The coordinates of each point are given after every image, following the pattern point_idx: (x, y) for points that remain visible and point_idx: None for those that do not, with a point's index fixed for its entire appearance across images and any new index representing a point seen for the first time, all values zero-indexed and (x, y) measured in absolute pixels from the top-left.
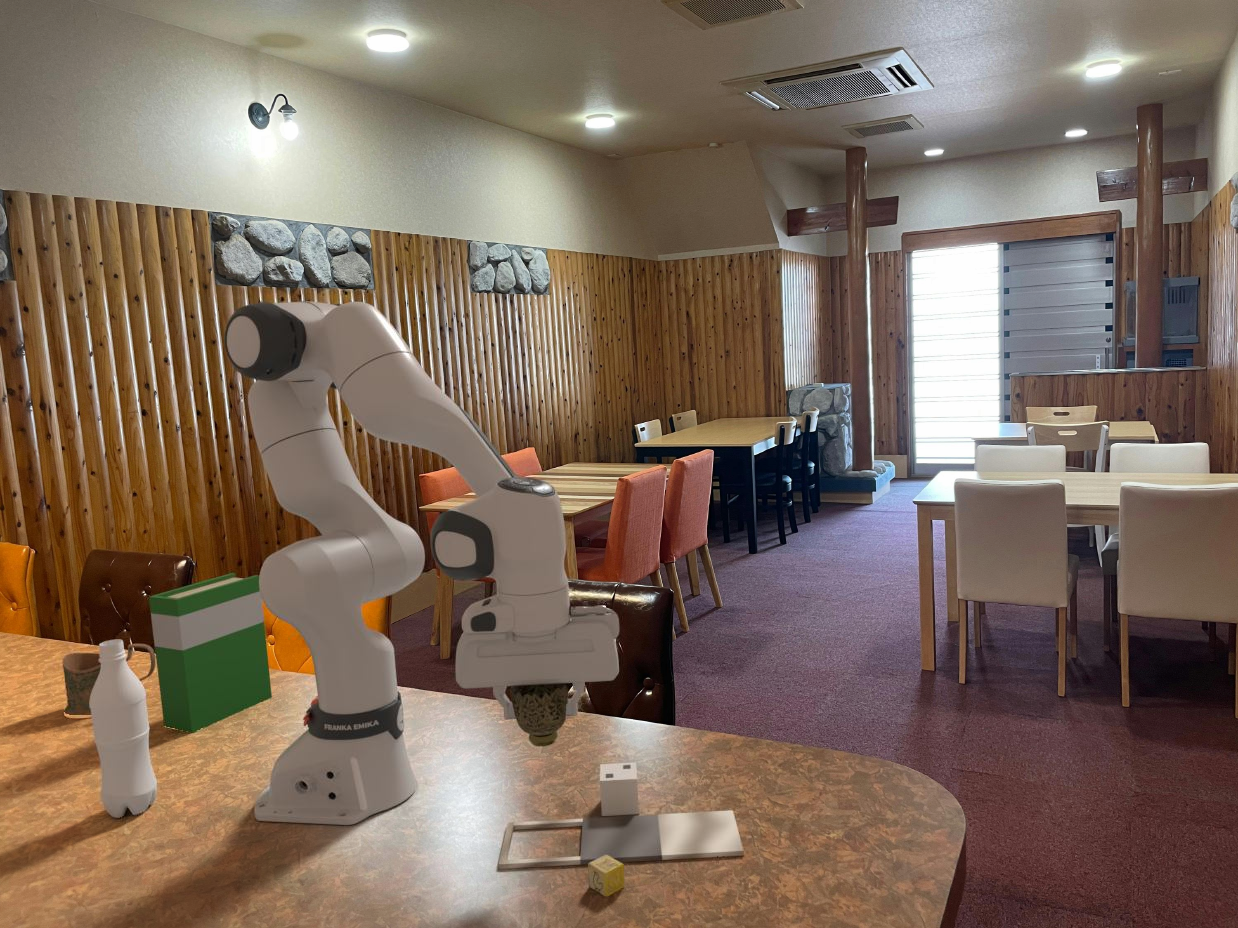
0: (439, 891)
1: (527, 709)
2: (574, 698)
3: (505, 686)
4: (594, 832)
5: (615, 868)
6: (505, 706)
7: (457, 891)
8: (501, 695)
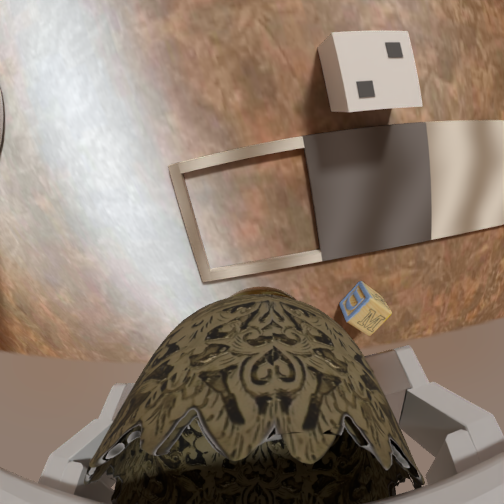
0: (153, 324)
1: (238, 491)
2: (418, 440)
3: (96, 491)
4: (332, 182)
5: (381, 324)
6: None
7: (174, 323)
8: (107, 480)
